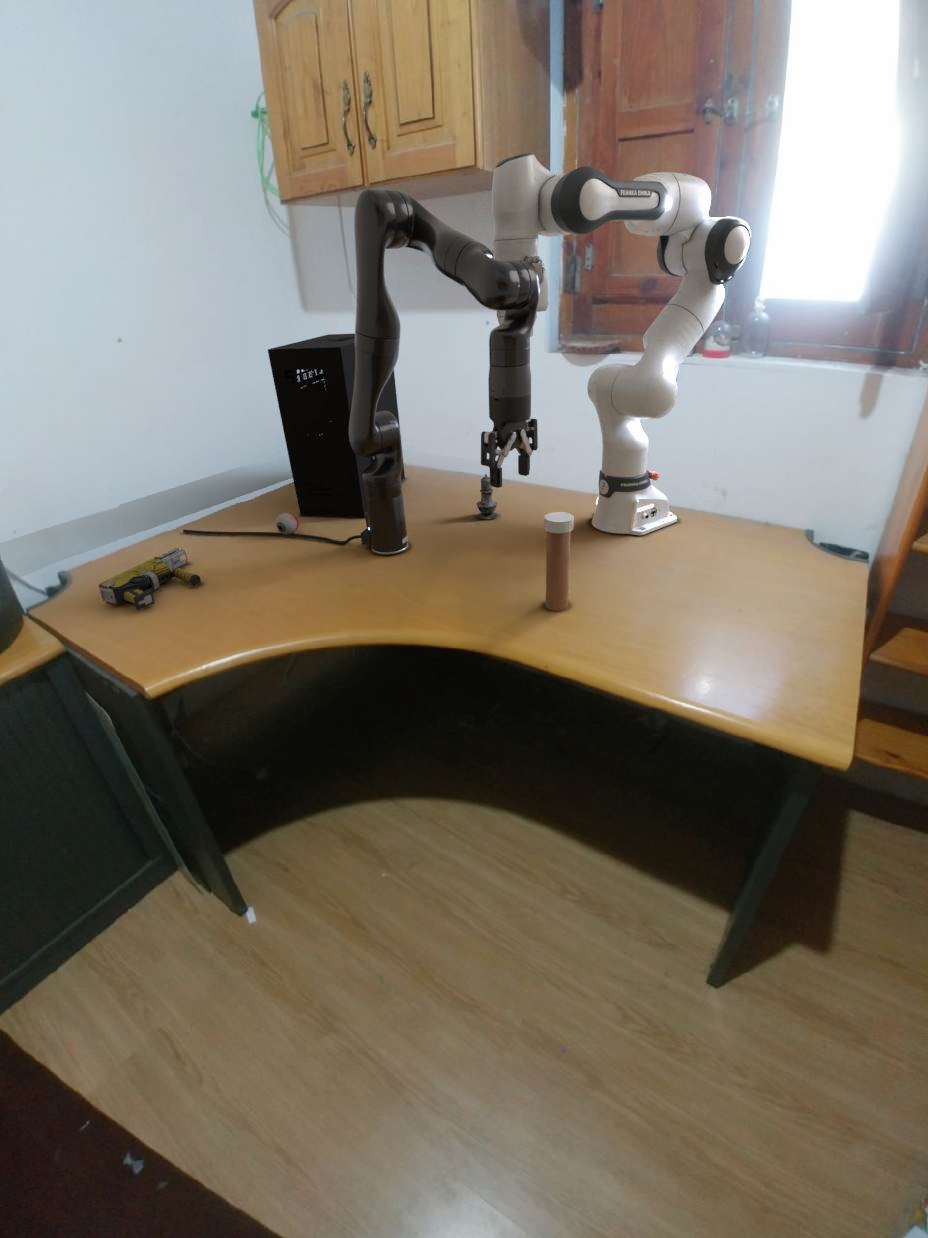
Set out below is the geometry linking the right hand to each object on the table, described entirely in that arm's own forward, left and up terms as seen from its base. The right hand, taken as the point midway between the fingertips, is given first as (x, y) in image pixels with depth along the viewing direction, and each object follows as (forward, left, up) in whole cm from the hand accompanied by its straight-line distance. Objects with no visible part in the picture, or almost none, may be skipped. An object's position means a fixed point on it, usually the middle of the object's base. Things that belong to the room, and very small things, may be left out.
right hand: (516, 335), depth 125 cm
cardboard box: (+23, -63, -48) cm, 83 cm away
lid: (+7, +29, -29) cm, 42 cm away
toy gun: (+80, -23, -48) cm, 96 cm away
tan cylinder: (+7, +29, -48) cm, 57 cm away
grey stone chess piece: (-4, -24, -48) cm, 54 cm away
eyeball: (+49, -41, -48) cm, 80 cm away
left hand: (+13, +21, -23) cm, 34 cm away
